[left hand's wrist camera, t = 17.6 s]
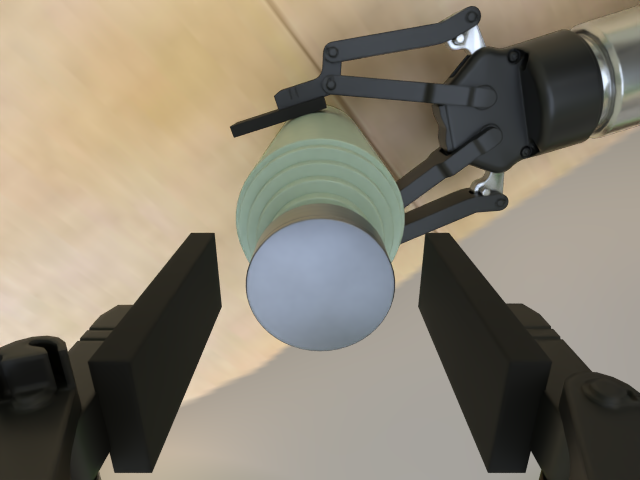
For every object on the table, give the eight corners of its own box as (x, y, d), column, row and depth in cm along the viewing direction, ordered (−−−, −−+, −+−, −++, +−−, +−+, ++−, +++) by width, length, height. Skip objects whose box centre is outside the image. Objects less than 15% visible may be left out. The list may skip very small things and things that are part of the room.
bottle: (327, 207, 38) (338, 409, 15) (260, 157, 36) (159, 299, 14) (380, 142, 36) (486, 263, 13) (312, 85, 34) (297, 111, 11)
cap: (411, 234, 14) (422, 252, 12) (353, 341, 15) (356, 369, 14) (282, 180, 13) (277, 194, 12) (234, 298, 15) (225, 323, 13)
